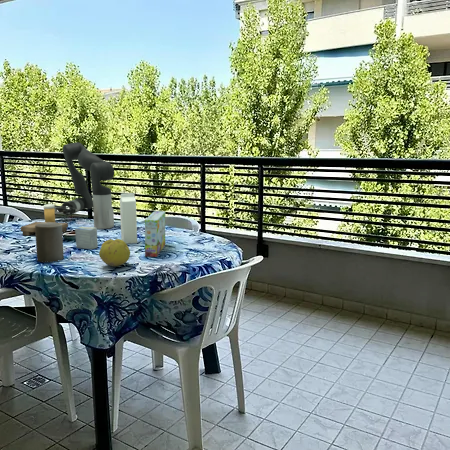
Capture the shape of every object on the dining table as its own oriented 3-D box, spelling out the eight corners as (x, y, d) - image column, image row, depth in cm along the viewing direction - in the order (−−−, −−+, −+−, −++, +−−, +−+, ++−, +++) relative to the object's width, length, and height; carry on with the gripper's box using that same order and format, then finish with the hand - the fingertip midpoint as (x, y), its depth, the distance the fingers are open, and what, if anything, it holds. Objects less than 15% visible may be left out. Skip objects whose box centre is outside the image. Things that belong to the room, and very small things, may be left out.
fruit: (92, 268, 163) (91, 241, 161) (111, 260, 174) (110, 235, 172) (119, 272, 159) (117, 244, 157) (136, 263, 170) (136, 237, 168)
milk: (137, 242, 202) (136, 193, 198) (123, 244, 200) (122, 194, 195) (134, 239, 208) (133, 192, 203) (121, 240, 205) (119, 192, 201)
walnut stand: (68, 231, 225) (67, 223, 224) (54, 236, 212) (54, 228, 211) (36, 229, 227) (35, 221, 226) (21, 235, 214) (20, 227, 214)
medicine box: (98, 247, 194) (97, 227, 192) (91, 249, 190) (90, 229, 188) (82, 245, 196) (81, 226, 194) (76, 248, 192) (74, 228, 190)
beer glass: (57, 226, 236) (56, 204, 234) (52, 228, 231) (51, 205, 229) (48, 225, 237) (46, 204, 234) (43, 227, 232) (41, 205, 229)
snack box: (158, 257, 179) (157, 219, 176) (144, 257, 179) (143, 219, 176) (166, 244, 200) (165, 210, 197) (153, 244, 200) (152, 210, 197)
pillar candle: (37, 263, 169) (34, 224, 166) (36, 257, 178) (34, 219, 175) (64, 261, 173) (63, 222, 170) (62, 254, 182) (61, 218, 179)
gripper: (58, 200, 255) (43, 204, 239) (82, 201, 253) (68, 205, 237) (59, 213, 257) (44, 218, 241) (83, 214, 255) (69, 219, 239)
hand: (56, 212), depth 239 cm, fingers open, 8 cm apart
